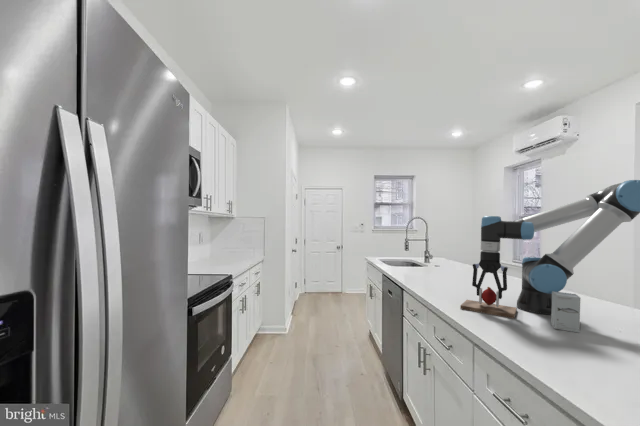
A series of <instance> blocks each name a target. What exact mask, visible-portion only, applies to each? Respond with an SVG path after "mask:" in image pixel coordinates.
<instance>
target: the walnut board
mask: <svg viewBox="0 0 640 426" xmlns="http://www.w3.org/2000/svg"><path fill="white" fill-rule="evenodd" d="M459 307H460V310H466V311H471V312H476V313H481V314H488V315H492V316H498V317H503V318H510V319H515V317H516V314H517V311H518V310H517V308H518V307H515V306H507V305H502V304H499V306H498V307H496V303H493V304H491V305H487V304H486V303H485V302H484V301H482V303H481V304H479V300H478V301H477V300H473V299H472V300H471V299H466V300H465V301H464V302H463V303H461V304H460V306H459Z"/></svg>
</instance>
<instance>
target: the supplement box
mask: <svg viewBox="0 0 640 426" xmlns="http://www.w3.org/2000/svg"><path fill="white" fill-rule="evenodd" d="M550 318H551V319H550V321H551V322H550V324H551V326H552V327H553V329H555V330H562V331H567V332H572V333H578V334H579V333H580V328H581V326H580V325H581V323H580V321H581V297H580V296H579V295H578V294H576V293H569V292H568V293H567V292H563V291H562V292H561V291H559V292H554V291H552V311H551V314H550Z"/></svg>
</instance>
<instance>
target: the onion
mask: <svg viewBox="0 0 640 426" xmlns="http://www.w3.org/2000/svg"><path fill="white" fill-rule="evenodd" d="M482 302H485V303H486V304H487V305H491V304H496V292H495V290H494V289H492V288H491V287H490V286H487V287H486V289H484V290H482Z"/></svg>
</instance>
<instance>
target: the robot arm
mask: <svg viewBox="0 0 640 426" xmlns="http://www.w3.org/2000/svg"><path fill="white" fill-rule="evenodd" d="M639 214H640V180H639V179H628V180H625V181H623V182H620V183H617V184H613V185H610V186H608V187H606V188H603V189H601V190H598V191H596V192H593V193H591V194H588V195H586V196H585V198H582V199H580V200H576V201H574V202H573V201H572V202H570V203H567V204H564V205H560V206H557V207H555V208H551V209H548V210H544V211H541V212H539V213H535V214H532V215H528V216H525V217H522V218H520V219H516V220H512V221H511V220H510V221H507V220H502V217H501V216H497V215H496V216H493V215H483V217H481V224H480V250H481V251H480V257H479V260H480V261H479V263H473V264H472V269H473V273H472V283H471V286H472V287H474V288H476V296H478V302H479V304H481V303H482V302H483V299H482V293H483V288H482V287H481V286H482V284H483V282H484V279H485V275H486V274H487V273H490V274H493V277H494V281H495V284H496V286H497V290H496V292H495V293H496V302H495V304H496V307H498V306H499V305H500V300H502V298H503V292H504V291H507V289H508V279H507V275H508V274H507V272H508V269H509V268H508V266H503V265H502V264H501V253H500V252H501V239H510V240H522V241H525V240H528V241H529V240H533V238H534V237H535V233H537V232H540V231H543V230H544V231H545V230H548V229H550V228H555V227H558V226H561V225H565V224H567V223H568V224H569V223H571V222H575V221H578V220H582V219H585V218H588V219H586V220H585V221H584V222H583V223H582V224H581V225H580V226H579V227H578V228H577V229H576V230H575V231H574V232H573V233H572V234H571V235H569V236H568V237H567V239H565V240H564V241H563V243H562V244H560V245H559V246H558V247H557V248H556V249H555V250H554V251H553V252H552V253H545V254H543V256H542V257H534V256H533V257H531V256H530V257H528V256H527V257H523V258H522V262H521V266H522V267H521V290H520V294H519V296H518V298H517V300H516V308H518V309H520V310H523V311H526V312H531V313H536V314H541V315H542V314H544V315H551V311H552V291H554V292H561V291H562V290H563V289H564V288H565V287H566V286H567V281H568V280H569V279H571V277H573V275H574V268H575V267H576V266H577V265H578V264H579V263H581V261H583V259H585V257H587V256H589V254H590V253H591V252H593V250H595V248H597V247H598V245H600V244H601V243H602V242H603V241H604V240H605V239H606V238H607V237H609V236H610V234H611V233H613V232H614V231H615V230H616V229H618V227H619V226H620V225H621V224H622V223H631V222H632V221H633V220H634V219H635V218H636V217H637V216H639ZM479 268H481V270H482V272H481V275H480V278H479V279H478V278H477V277H478V269H479ZM498 270H501V272H502V284H501V280H500V277H499V275H498ZM477 279H478V283H477Z"/></svg>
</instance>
